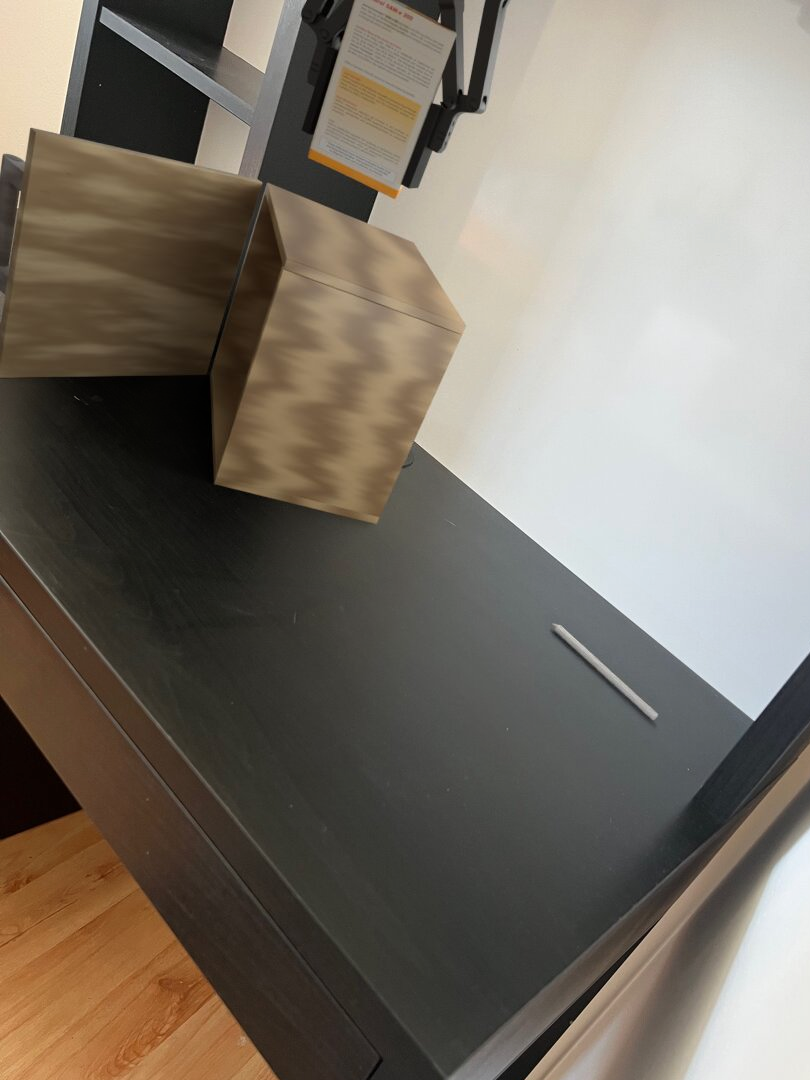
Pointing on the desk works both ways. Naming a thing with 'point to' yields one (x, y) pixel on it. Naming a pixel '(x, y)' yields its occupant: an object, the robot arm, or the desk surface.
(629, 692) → the pencil
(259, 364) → the cupboard
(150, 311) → the cupboard door
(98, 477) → the desk surface
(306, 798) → the desk surface
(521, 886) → the desk surface
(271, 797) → the desk surface
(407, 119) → the supplement box
